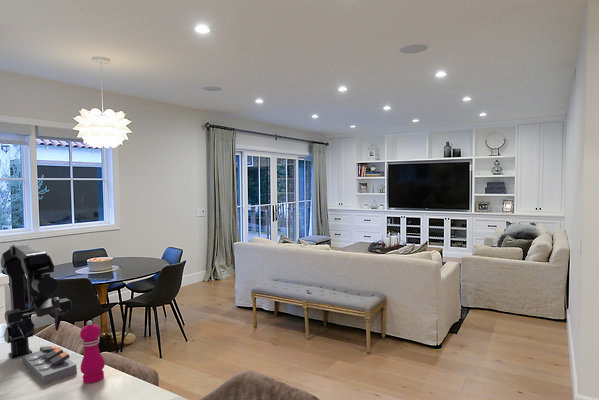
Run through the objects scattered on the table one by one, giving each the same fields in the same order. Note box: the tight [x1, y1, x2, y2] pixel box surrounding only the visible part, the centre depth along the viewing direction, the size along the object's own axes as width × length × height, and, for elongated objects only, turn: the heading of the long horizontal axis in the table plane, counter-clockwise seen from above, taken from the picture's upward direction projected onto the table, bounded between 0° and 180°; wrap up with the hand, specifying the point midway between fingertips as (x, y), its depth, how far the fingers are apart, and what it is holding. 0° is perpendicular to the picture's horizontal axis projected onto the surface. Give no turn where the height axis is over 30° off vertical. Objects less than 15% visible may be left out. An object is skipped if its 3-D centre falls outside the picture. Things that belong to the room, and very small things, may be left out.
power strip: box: [21, 350, 78, 386], centre depth 143 cm, size 24×10×3 cm, turn 49°
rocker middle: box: [44, 347, 64, 361], centre depth 144 cm, size 4×5×2 cm
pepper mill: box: [79, 320, 106, 384], centre depth 134 cm, size 7×7×20 cm
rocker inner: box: [39, 345, 58, 353], centre depth 149 cm, size 4×5×2 cm
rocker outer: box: [50, 351, 71, 366], centre depth 141 cm, size 4×5×2 cm
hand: (41, 334), depth 137 cm, fingers open, 9 cm apart
